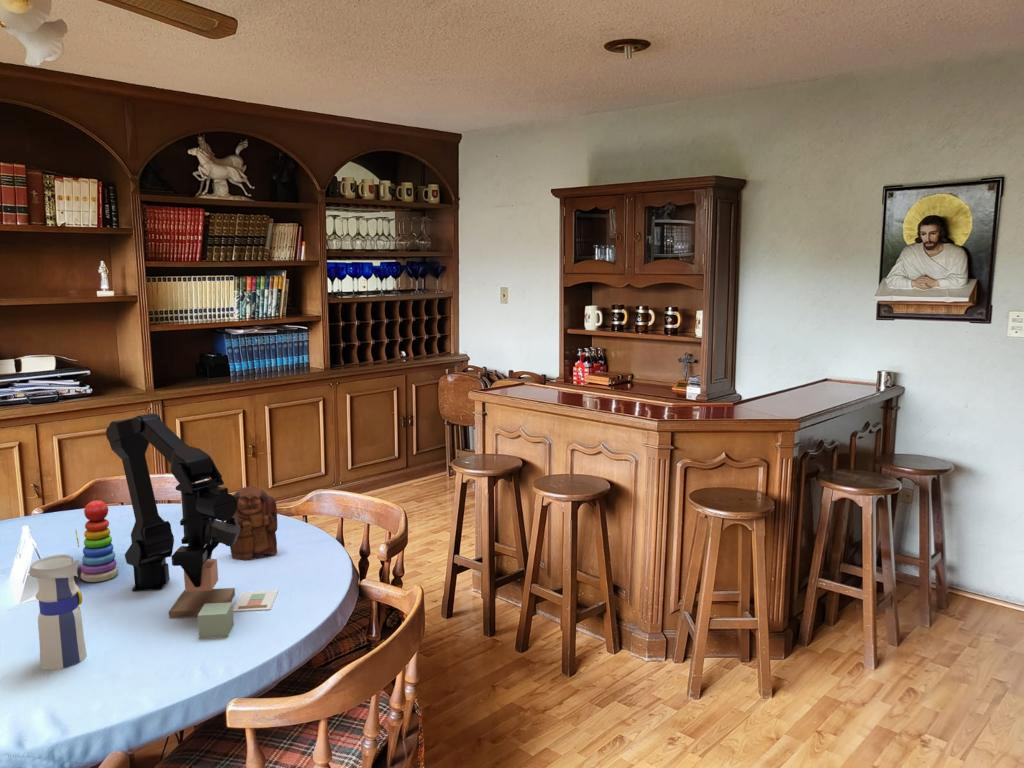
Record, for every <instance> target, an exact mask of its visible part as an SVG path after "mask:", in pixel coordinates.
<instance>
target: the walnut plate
mask: <svg viewBox="0 0 1024 768" xmlns="http://www.w3.org/2000/svg"><path fill="white" fill-rule="evenodd" d="M235 595H236V588H235V587H226V588H225V587H224V588H213V589H212V590H210V591H189V592H185V589H184V590H183V591H182V593H181V594H180V595H179V597H178V598H177V600H175V602H174V604H173V605H172V606H171V608H170V610H169V611H168V618H169V619H179V618H183V619H184V618H195V617H196V618H198V614H199V612H200V611H201V609H202V607H203V606H204V604H210V603H229V602H232V601H233V599H234V597H235Z"/></svg>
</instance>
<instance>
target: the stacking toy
mask: <svg viewBox="0 0 1024 768" xmlns="http://www.w3.org/2000/svg"><path fill="white" fill-rule="evenodd" d="M83 513H84V517H85V518H86V519H87V520H88V521H86V523H85V524H84V528H85V529H86V530H85V531H84V533H83V536H84V538H85V539H84V540H83V545H84V546H83V548H82V555H83V556H82V557H81V560H82V561H81V562H82V563H81V566H80V569H81V570H80V571H81V572H80V578H81V580H83V581H85V582H88V583H99V582H104V581H108V580H111V579H113V578H115V577H116V576H117V575H118V573H119V568H118V567H117V560H116V559H115V558H116V553H115V551H114V545H113V543H112V542H113V537H112V536H111V535H110V534H111V530H110V528H109V525H110V522H109V520H108V519H107V518H106V517H107V516H108V514H109V507H108V505H107V503H106V502H104V501H103V500H100V499H99V500H92V501H90V502H88V503H87V504H86V506H85V507H84V509H83Z"/></svg>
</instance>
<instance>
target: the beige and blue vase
mask: <svg viewBox="0 0 1024 768" xmlns="http://www.w3.org/2000/svg"><path fill="white" fill-rule="evenodd" d="M74 531H75V536H76V542H77V543H76V544H77V547H78V548H80V542H79V537H78V536H79V535H78V532H77V529H74ZM79 561H80V560H79V559H76V560H74V557H73V556H72V555H69V554H66V553H65V554H55V555H50V556H46V557H43V558H39V559H36V560H35V561H33V562H31V564H30V567H29V576H31V577H32V578H35V579H36V580H37V583H38V591H37V593H36V595H35V598H36V599H37V600H38V606H39V613H38V617H37V629H38V640H39V641H38V642H39V665H40V667H41V668H43V669H45V670H51V671H53V670H62V669H66V668H70V667H73V666H75V665H78V664H79V663H81V662H83V661H84V660H85V659H86V658H87V655H88V654H87V647H86V641H85V640H86V639H85V634H84V626H83V616H82V610H81V605H82V604H83V595H82V591H81V589H80V588H79V586H78V585H77V584H76V582H75V576H76V577H77V578H78V577H79V575H78V567H79Z"/></svg>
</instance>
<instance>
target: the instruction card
mask: <svg viewBox="0 0 1024 768" xmlns="http://www.w3.org/2000/svg"><path fill="white" fill-rule="evenodd" d="M278 594H279V589H276V590H275V589H274V590H262V591H261V590H254V591H242V592H241V594H240V595H239V597H238V599H237V601H236V603H235V605H234V606H233V613H236V612H238V613H239V612H255V611H256V612H257V611H271V609H272V608H273V605H274V603H275V600H276V598H277V596H278Z"/></svg>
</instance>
